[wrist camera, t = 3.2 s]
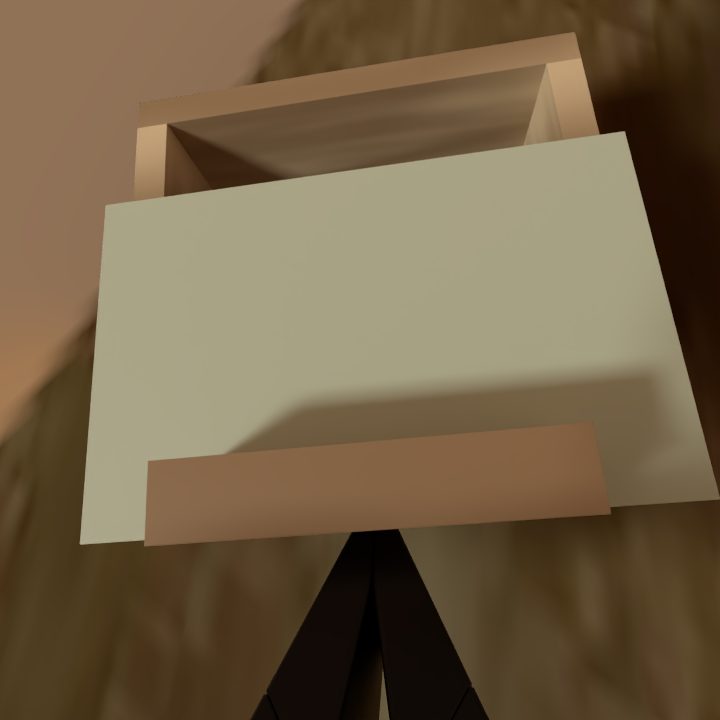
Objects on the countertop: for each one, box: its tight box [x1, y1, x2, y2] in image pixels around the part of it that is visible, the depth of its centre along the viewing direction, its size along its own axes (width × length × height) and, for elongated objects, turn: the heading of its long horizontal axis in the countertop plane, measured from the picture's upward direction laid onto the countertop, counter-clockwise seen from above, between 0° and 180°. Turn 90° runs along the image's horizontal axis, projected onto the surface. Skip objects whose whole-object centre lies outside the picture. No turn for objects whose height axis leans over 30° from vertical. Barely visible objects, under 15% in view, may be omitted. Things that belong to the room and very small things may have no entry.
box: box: [133, 32, 600, 201], centre depth 18 cm, size 9×14×8 cm, turn 94°
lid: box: [80, 131, 720, 546], centre depth 11 cm, size 9×14×4 cm, turn 94°
